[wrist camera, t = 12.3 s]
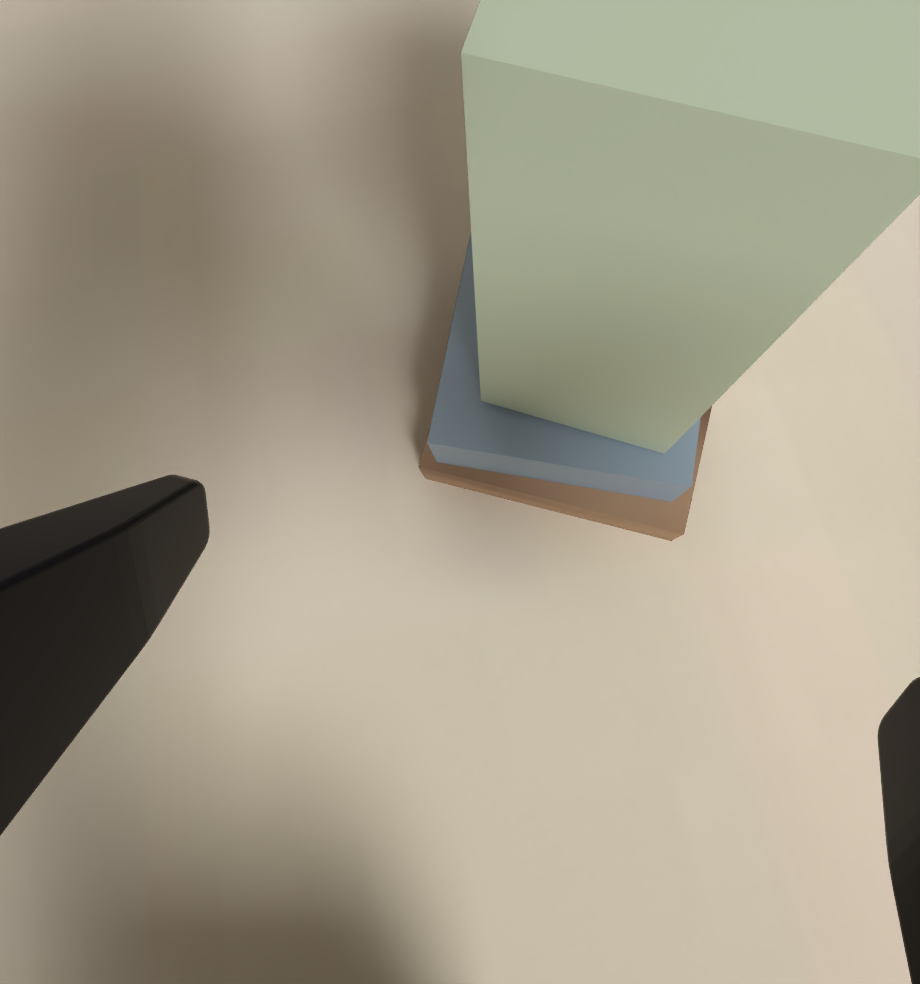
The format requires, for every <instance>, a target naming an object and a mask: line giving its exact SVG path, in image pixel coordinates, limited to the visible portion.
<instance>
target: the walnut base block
mask: <svg viewBox="0 0 920 984" xmlns="http://www.w3.org/2000/svg"><path fill="white" fill-rule="evenodd" d="M711 408H712V406H711V407H710V408H709V409H708V410H707V411H706V412H705V413H704V414H703V415H702V416H701V419H700V427H699V434H698V442H697V450H696V457H695V465H694V472H693V480H692V487H691V488H689V489H688V490H687V491H685V492H684V493H683V494H682V495H680V496H679V497H678V498H676V499H675V500H674V501H672V502H669V501H663V500H657V499H651V498H645V497H639V496H633V495H628V494H622V493H616V492H610V491H604V490H598V489H592V488H586V487H580V486H574V485H568V484H562V483H557V482H551V481H545V480H539V479H533V478H527V477H521V476H515V475H509V474H504V473H498V472H492V471H486V470H480V469H474V468H468V467H462V466H456V465H450V464H445V463H439V462H436V460H435V458H434V456H433V454H432V452H431V450H430V448H429V445H428V443H427V441H428V436H429V432H430V429H429V432H428V436H427V439H426V443H425V446H424V449H423V453H422V456H421V460H420V463H419V469H420V470H421V472H422V473H423V475H424V477H425V478H426V479H430V480H434V481H438V482H441V483H445V484H449V485H453V486H457V487H461V488H465V489H469V490H473V491H477V492H481V493H485V494H489V495H493V496H497V497H500V498H504V499H508V500H512V501H516V502H520V503H524V504H528V505H532V506H536V507H540V508H544V509H548V510H552V511H556V512H560V513H563V514H567V515H571V516H575V517H579V518H583V519H587V520H591V521H595V522H599V523H603V524H607V525H611V526H615V527H619V528H622V529H626V530H630V531H634V532H638V533H642V534H646V535H650V536H654V537H658V538H662V539H666V540H670V541H672V540H674V539H675V538H677V537H679V536H681V535H683V534H684V532H685V527H686V523H687V518H688V513H689V509H690V504H691V500H692V495H693V490H694V486H695V481H696V477H697V472H698V468H699V463H700V458H701V454H702V449H703V445H704V440H705V435H706V431H707V426H708V422H709V417H710V412H711ZM430 427H431V425H430Z"/></svg>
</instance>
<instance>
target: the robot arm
mask: <svg viewBox="0 0 920 984" xmlns="http://www.w3.org/2000/svg"><path fill="white" fill-rule="evenodd" d="M208 538H209V519H208V510H207V501H206V493H205V488H204V486H203V485H202V483H200V482H199V481H197V480H193V479H189V478H186V477H182V476H178V475H168V476H165V477H161V478H158V479H155V480H152V481H149V482H146V483H143V484H139V485H136V486H133V487H130V488H127V489H124V490H120V491H117V492H114V493H111V494H108V495H105V496H102V497H98V498H95V499H92V500H89V501H86V502H83V503H79V504H76V505H73V506H70V507H67V508H64V509H60V510H57V511H54V512H51V513H48V514H45V515H42V516H38V517H35V518H32V519H29V520H26V521H23V522H19V523H16V524H13V525H10V526H7V527H4V528H1V529H0V835H1V834H2V833H3V831H4V830H5V829H6V827H7V826H8V825H9V823H10V822H11V821H12V820H13V818H14V817H15V816H16V814H17V813H18V812H19V810H20V809H21V808H22V806H23V805H24V804H25V802H26V801H27V800H28V798H29V797H30V796H31V795H32V793H33V792H34V791H35V789H36V788H37V787H38V785H39V784H40V783H41V781H42V780H43V779H44V777H45V776H46V775H47V774H48V772H49V771H50V770H51V768H52V767H53V766H54V764H55V763H56V762H57V760H58V759H59V758H60V756H61V755H62V754H63V753H64V751H65V750H66V749H67V747H68V746H69V745H70V743H71V742H72V741H73V739H74V738H75V737H76V735H77V734H78V733H79V731H80V730H81V729H82V728H83V726H84V725H85V724H86V722H87V721H88V720H89V718H90V717H91V716H92V714H93V713H94V712H95V710H96V709H97V708H98V707H99V705H100V704H101V703H102V701H103V700H104V699H105V697H106V696H107V695H108V693H109V692H110V691H111V689H112V688H113V687H114V685H115V684H116V683H117V682H118V680H119V679H120V678H121V676H122V675H123V674H124V672H125V671H126V670H127V668H128V667H129V666H130V664H131V663H132V662H133V661H134V659H135V658H136V657H137V655H138V654H139V653H140V651H141V650H142V648H143V647H144V646H145V644H146V643H147V642H148V640H149V639H150V637H151V636H152V634H153V633H154V631H155V630H156V628H157V626H158V625H159V623H160V622H161V620H162V618H163V617H164V615H165V613H166V612H167V610H168V608H169V607H170V605H171V603H172V602H173V600H174V598H175V597H176V595H177V594H178V592H179V590H180V589H181V587H182V585H183V584H184V582H185V580H186V579H187V577H188V575H189V574H190V572H191V570H192V569H193V567H194V565H195V564H196V562H197V560H198V559H199V557H200V555H201V554H202V552H203V550H204V549H205V547H206V544H207V542H208ZM878 748H879V760H880V772H881V784H882V796H883V809H884V821H885V833H886V845H887V853H888V862H889V869H890V874H891V880H892V886H893V891H894V896H895V901H896V906H897V911H898V916H899V922H900V927H901V932H902V937H903V942H904V947H905V952H906V957H907V962H908V967H909V972H910V977H911V982H912V984H920V677H918V678H916V679H914V680H913V681H912V682H911V683H910V684H909V685H908V687H907V688H906V689H905V690H904V692H903V693H902V694H901V695H900V697H899V698H898V699H897V700H896V702H895V703H894V704H893V705H892V707H891V708H890V709H889V710H888V712H887V713H886V714H885V716H884V717H883V719H882V721H881V723H880V726H879V730H878Z"/></svg>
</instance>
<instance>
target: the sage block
mask: <svg viewBox="0 0 920 984" xmlns="http://www.w3.org/2000/svg"><path fill="white" fill-rule="evenodd" d="M461 63H462V80H463V98H464V115H465V133H466V150H467V167H468V185H469V202H470V220H471V237H472V255H473V272H474V289H475V307H476V324H477V342H478V359H479V377H480V394H481V401H483V402H487V403H490V404H494V405H497V406H501V407H504V408H508V409H511V410H514V411H518V412H521V413H525V414H528V415H532V416H535V417H539V418H542V419H546V420H549V421H553V422H556V423H559V424H563V425H566V426H570V427H573V428H577V429H580V430H584V431H587V432H591V433H594V434H598V435H601V436H604V437H608V438H611V439H615V440H618V441H622V442H625V443H629V444H632V445H636V446H639V447H643V448H646V449H650V450H653V451H656V452H660V453H663V454H665V453H666V452H667V451H668V450H669V449H670V448H671V447H672V446H673V445H674V444H675V443H676V442H677V441H678V440H679V438H680V437H681V436H682V435H683V434H684V433H685V432H686V431H687V430H688V429H689V428H690V427H691V426H692V425H693V424H694V423H695V422H696V421H697V420H698V419H699V418H700V417H701V416H702V415H703V414H704V413H705V412H706V411H707V410H708V409H709V408H710V407H711V406H712V405H713V404H714V403H715V402H716V401H717V400H718V399H719V398H720V397H721V396H722V395H723V394H724V393H725V392H726V391H727V390H728V389H729V388H730V387H731V386H732V385H733V384H734V383H735V382H736V381H737V380H738V378H739V377H740V376H741V375H742V374H743V373H744V372H745V371H746V370H747V369H748V368H749V367H750V366H751V365H752V364H753V363H754V362H755V361H756V360H757V359H758V358H759V357H760V356H761V355H762V354H763V353H764V352H765V351H766V350H767V349H768V348H769V347H770V346H771V345H772V344H773V343H774V342H775V341H776V340H777V339H778V338H779V337H780V336H781V335H782V334H783V333H784V332H785V331H786V330H787V329H788V328H789V327H790V326H791V325H792V324H793V323H794V322H795V321H796V320H797V318H798V317H799V316H800V315H801V314H802V313H803V312H804V311H805V310H806V309H807V308H808V307H809V306H810V305H811V304H812V303H813V302H814V301H815V300H816V299H817V298H818V297H819V296H820V295H821V294H822V293H823V292H824V291H825V290H826V289H827V288H828V287H829V286H830V285H831V284H832V283H833V282H834V281H835V280H836V279H837V278H838V277H839V276H840V275H841V274H842V273H843V272H844V271H845V270H846V269H847V268H848V267H849V266H850V265H851V264H852V263H853V262H854V261H855V259H856V258H857V257H858V256H859V255H860V254H861V253H862V252H863V251H864V250H865V249H866V248H867V247H868V246H869V245H870V244H871V243H872V242H873V241H874V240H875V239H876V238H877V237H878V236H879V235H880V234H881V233H882V232H883V231H884V230H885V229H886V228H887V227H888V226H889V225H890V224H891V223H892V222H893V221H894V220H895V219H896V218H897V217H898V216H899V215H900V214H901V213H902V212H903V211H904V210H905V209H906V208H907V207H908V206H909V205H910V204H911V203H912V202H913V201H914V199H915V198H916V197H917V196H918V195H919V194H920V0H480V3H479V5H478V8H477V11H476V13H475V16H474V19H473V21H472V24H471V27H470V29H469V32H468V35H467V38H466V40H465V43H464V46H463V48H462V51H461Z"/></svg>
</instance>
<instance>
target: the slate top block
mask: <svg viewBox="0 0 920 984" xmlns="http://www.w3.org/2000/svg"><path fill="white" fill-rule="evenodd" d="M700 419H701V417H700V418H699V419H698V420H697V421H696V422H695V423H694V424H693V425H692V426H691V427H690V428H689V429H688V430H687V431H686V432H685V433H684V434H683V435H682V436H681V437H680V438H679V440H678V441H677V442H676V443H675V444H674V445H673V446H672V447H671V448H670V449H669V450H668V451H667V452H666V453H665V454H663V453H660V452H656V451H653V450H650V449H646V448H643V447H639V446H636V445H632V444H629V443H625V442H622V441H618V440H615V439H611V438H608V437H604V436H601V435H598V434H594V433H591V432H587V431H584V430H580V429H577V428H573V427H570V426H566V425H563V424H559V423H556V422H553V421H549V420H546V419H542V418H539V417H535V416H532V415H528V414H525V413H521V412H518V411H514V410H511V409H508V408H504V407H501V406H497V405H494V404H490V403H487V402H483V401H481V394H480V377H479V359H478V342H477V324H476V307H475V289H474V272H473V255H472V237H471V234H470V239H469V243H468V248H467V253H466V258H465V263H464V268H463V272H462V277H461V282H460V287H459V292H458V296H457V301H456V306H455V311H454V316H453V321H452V325H451V330H450V335H449V340H448V345H447V350H446V354H445V359H444V364H443V369H442V374H441V379H440V383H439V388H438V393H437V398H436V403H435V407H434V412H433V417H432V422H431V427H430V432H429V436H428V441H427V443H428V445H429V448H430V450H431V452H432V454H433V456H434V458H435V460H436V462H439V463H445V464H450V465H456V466H462V467H468V468H474V469H480V470H486V471H492V472H498V473H504V474H509V475H515V476H521V477H527V478H533V479H539V480H545V481H551V482H557V483H562V484H568V485H574V486H580V487H586V488H592V489H598V490H604V491H610V492H616V493H622V494H628V495H633V496H639V497H645V498H651V499H657V500H663V501H669V502H672V501H674V500H675V499H676V498H678V497H679V496H680V495H682V494H683V493H684V492H685V491H687V490H688V489H689V488H691V487H692V480H693V472H694V465H695V457H696V450H697V442H698V434H699V427H700Z"/></svg>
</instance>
